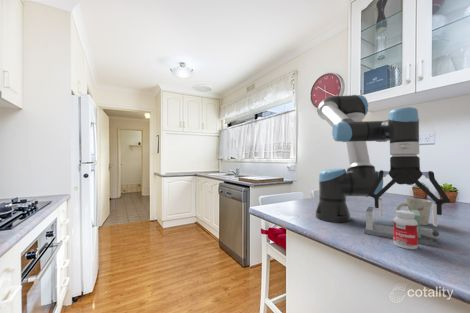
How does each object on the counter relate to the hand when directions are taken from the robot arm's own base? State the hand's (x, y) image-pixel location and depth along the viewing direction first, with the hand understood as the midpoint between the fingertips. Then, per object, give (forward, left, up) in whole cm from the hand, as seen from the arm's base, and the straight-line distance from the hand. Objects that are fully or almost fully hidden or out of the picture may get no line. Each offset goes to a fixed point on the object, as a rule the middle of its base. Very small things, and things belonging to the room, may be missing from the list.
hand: (406, 221), depth 68 cm
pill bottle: (0, 0, -8) cm, 8 cm away
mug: (+3, +33, -8) cm, 34 cm away
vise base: (-2, +10, -8) cm, 13 cm away
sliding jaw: (+5, +10, -6) cm, 13 cm away
